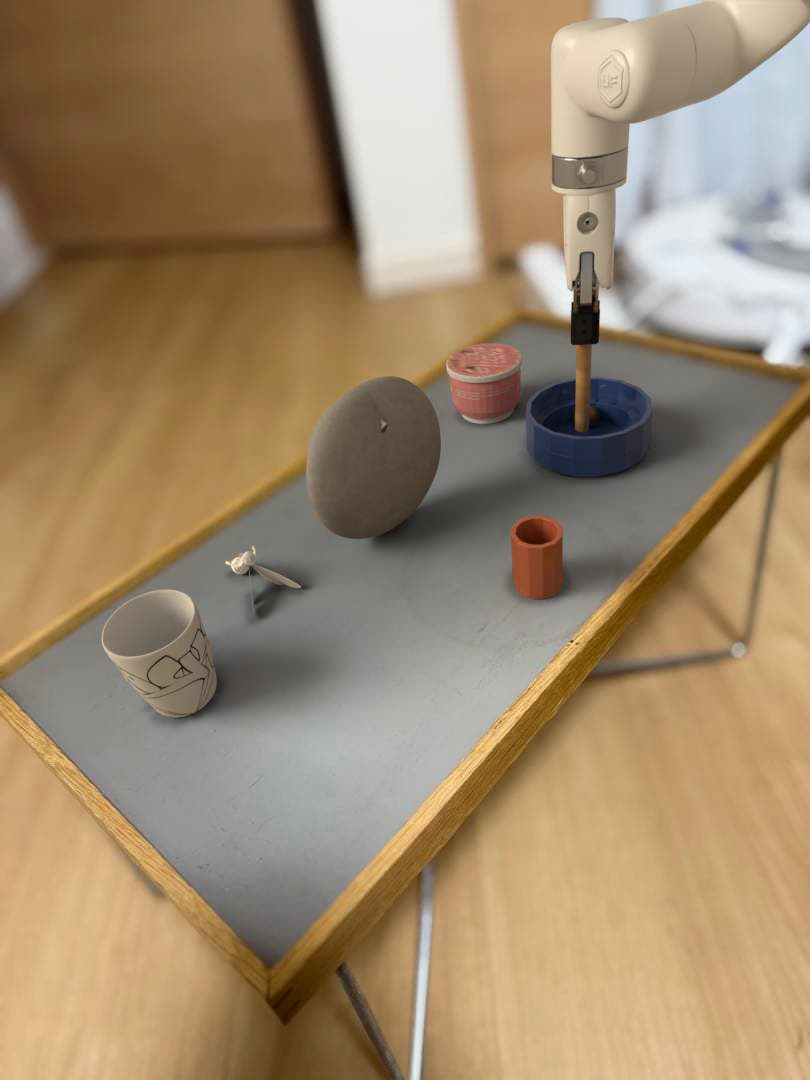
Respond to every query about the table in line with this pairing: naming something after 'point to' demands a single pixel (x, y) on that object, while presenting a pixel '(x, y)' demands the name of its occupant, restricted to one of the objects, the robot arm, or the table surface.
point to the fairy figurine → (257, 569)
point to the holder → (537, 556)
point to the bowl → (604, 444)
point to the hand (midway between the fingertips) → (584, 337)
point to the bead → (594, 416)
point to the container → (485, 381)
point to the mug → (163, 651)
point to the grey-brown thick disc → (372, 457)
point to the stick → (583, 387)
